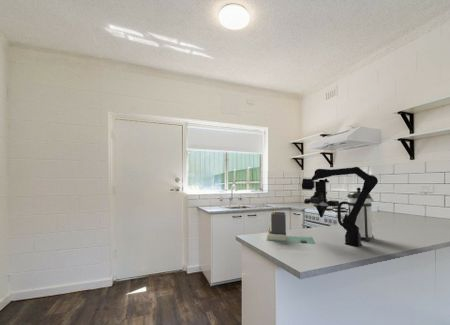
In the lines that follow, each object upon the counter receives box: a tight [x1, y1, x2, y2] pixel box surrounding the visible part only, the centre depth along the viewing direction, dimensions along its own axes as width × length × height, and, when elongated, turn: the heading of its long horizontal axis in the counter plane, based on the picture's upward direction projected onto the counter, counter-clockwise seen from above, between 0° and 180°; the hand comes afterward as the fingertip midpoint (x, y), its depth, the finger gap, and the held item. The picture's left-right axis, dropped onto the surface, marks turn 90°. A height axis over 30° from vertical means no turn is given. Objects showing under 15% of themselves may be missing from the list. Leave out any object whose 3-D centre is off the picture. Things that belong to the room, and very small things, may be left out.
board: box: [266, 226, 317, 245], centre depth 130 cm, size 26×14×6 cm, turn 76°
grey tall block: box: [270, 210, 287, 236], centre depth 132 cm, size 8×5×15 cm, turn 76°
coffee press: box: [336, 187, 375, 242], centre depth 136 cm, size 17×16×30 cm
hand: (321, 217), depth 131 cm, fingers closed
